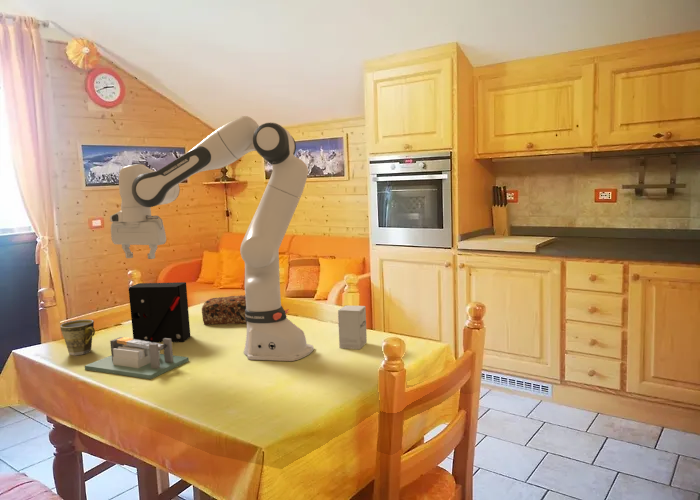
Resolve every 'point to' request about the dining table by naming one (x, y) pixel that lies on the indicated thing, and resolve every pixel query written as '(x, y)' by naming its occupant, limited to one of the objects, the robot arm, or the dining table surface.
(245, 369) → the dining table surface
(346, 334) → the supplement box
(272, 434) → the dining table surface
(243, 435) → the dining table surface
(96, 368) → the board
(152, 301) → the electrical component
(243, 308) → the bread
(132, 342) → the grey flat bar
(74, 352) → the ceramic cup
